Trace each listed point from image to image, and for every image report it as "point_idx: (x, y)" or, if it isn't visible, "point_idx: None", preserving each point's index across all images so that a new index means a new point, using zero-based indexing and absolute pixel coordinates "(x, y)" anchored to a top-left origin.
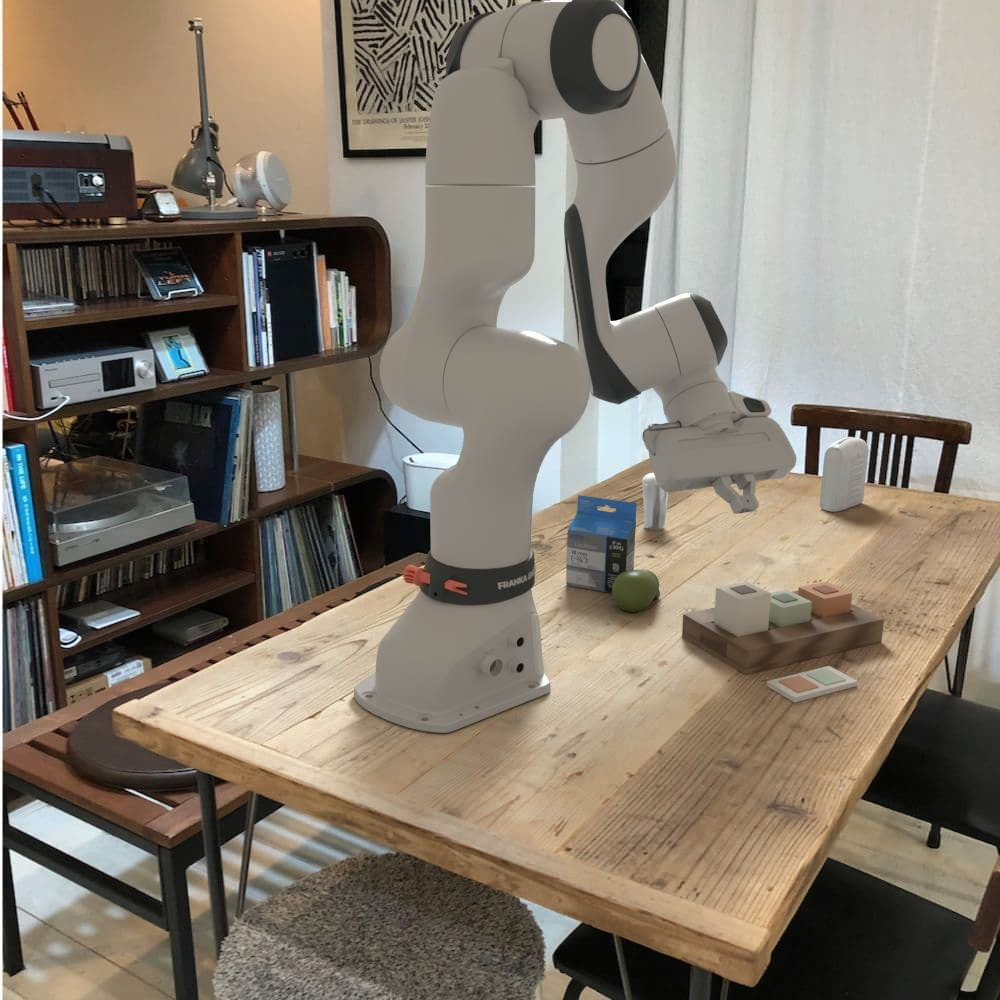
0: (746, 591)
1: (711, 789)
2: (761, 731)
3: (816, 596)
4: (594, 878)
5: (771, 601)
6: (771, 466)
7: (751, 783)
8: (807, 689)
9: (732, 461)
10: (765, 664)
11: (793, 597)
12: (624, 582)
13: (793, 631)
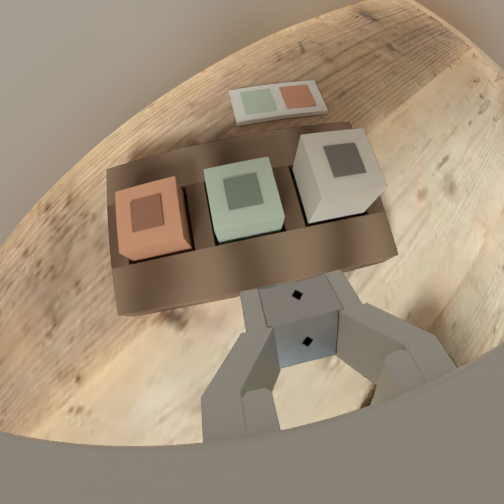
0: (343, 147)
1: (406, 39)
2: (360, 63)
3: (177, 194)
4: (455, 30)
5: (274, 184)
6: (54, 447)
7: (382, 33)
8: (294, 85)
9: (409, 475)
10: None
11: (227, 186)
12: (455, 365)
13: (258, 152)
